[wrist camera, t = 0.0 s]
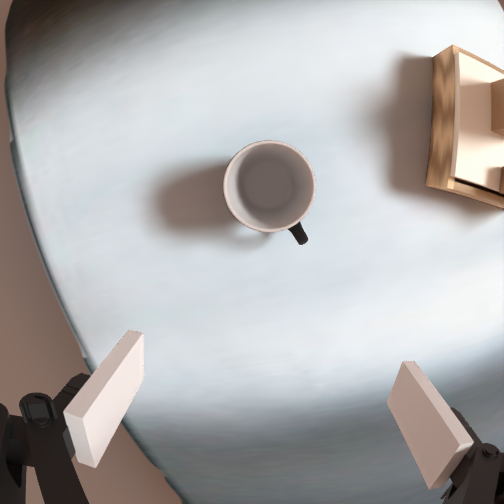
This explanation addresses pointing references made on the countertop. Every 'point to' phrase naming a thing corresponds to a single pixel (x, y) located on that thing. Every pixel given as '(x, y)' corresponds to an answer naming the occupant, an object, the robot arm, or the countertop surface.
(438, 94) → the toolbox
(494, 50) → the countertop surface
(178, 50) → the countertop surface
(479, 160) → the lid
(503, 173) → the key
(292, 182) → the mug
